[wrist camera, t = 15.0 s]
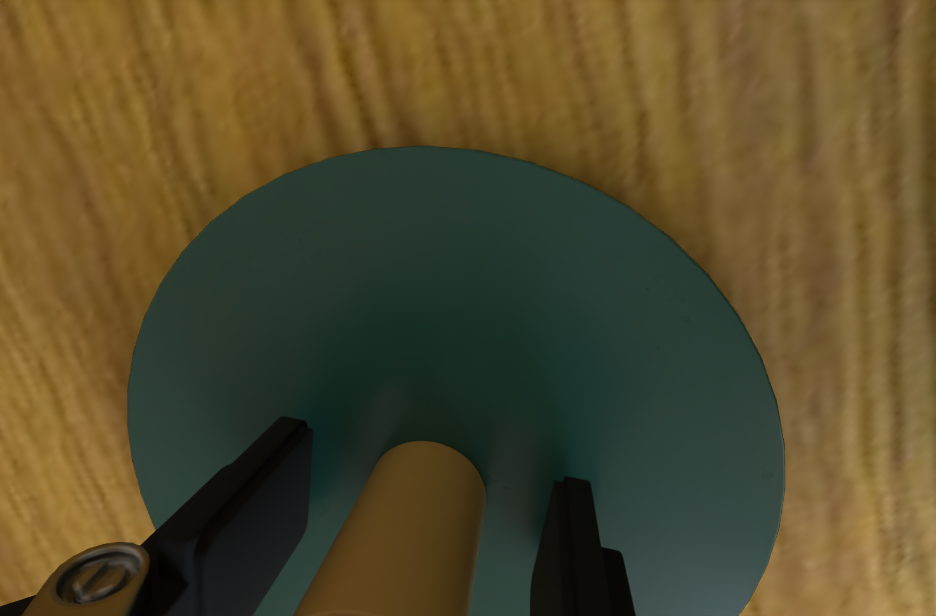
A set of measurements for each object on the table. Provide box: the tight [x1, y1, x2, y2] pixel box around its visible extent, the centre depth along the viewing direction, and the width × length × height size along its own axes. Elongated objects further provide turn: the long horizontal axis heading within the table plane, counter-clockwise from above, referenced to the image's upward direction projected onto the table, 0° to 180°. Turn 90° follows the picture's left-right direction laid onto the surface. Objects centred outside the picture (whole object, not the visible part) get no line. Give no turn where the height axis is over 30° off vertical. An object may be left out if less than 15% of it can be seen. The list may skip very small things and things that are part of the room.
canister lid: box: [128, 146, 785, 616], centre depth 10 cm, size 16×16×6 cm
